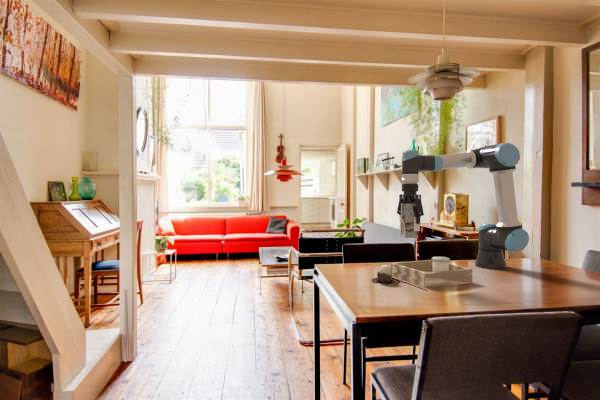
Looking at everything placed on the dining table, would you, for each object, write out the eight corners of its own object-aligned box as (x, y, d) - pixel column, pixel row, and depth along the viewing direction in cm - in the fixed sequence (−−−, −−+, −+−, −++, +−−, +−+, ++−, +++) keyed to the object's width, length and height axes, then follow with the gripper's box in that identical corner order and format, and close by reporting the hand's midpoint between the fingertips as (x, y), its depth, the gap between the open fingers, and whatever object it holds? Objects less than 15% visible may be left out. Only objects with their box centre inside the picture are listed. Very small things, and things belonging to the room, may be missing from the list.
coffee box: (418, 238, 171) (419, 203, 170) (404, 238, 171) (405, 203, 171) (413, 236, 180) (414, 202, 180) (400, 235, 180) (400, 202, 180)
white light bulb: (428, 276, 170) (428, 257, 170) (441, 275, 173) (441, 256, 173) (439, 280, 163) (439, 260, 163) (453, 278, 166) (453, 258, 166)
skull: (373, 275, 174) (388, 260, 171) (389, 291, 171) (404, 276, 168) (366, 279, 163) (382, 263, 161) (383, 297, 160) (400, 281, 157)
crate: (390, 277, 173) (391, 263, 173) (433, 273, 182) (433, 259, 182) (425, 290, 150) (426, 273, 150) (472, 285, 159) (472, 269, 159)
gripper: (389, 183, 185) (389, 227, 185) (418, 182, 163) (417, 232, 163) (402, 183, 187) (402, 227, 187) (432, 182, 165) (432, 232, 166)
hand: (409, 229), depth 175 cm, fingers closed on coffee box, 10 cm apart
